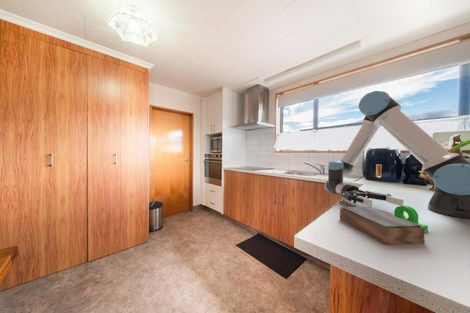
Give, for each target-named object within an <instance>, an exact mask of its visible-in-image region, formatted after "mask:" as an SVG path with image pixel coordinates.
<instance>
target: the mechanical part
mask: <svg viewBox="0 0 470 313" xmlns="http://www.w3.org/2000/svg"><path fill="white" fill-rule="evenodd" d="M404 212H405V213H406V214H407V215H408V217H406V216H405V215H404ZM392 215H393V216H396V217H399V218H402V219H404V220H407V221H410V222H413V223H416V224H418V225H421V227H423V228H425V229H424V233H426V232H428V231H429V226H428V225H425V224H424V223H423V224H422V223H420V222H419V213H418V212H417V210H416V209H415V208H413V207H412V206H409V205H403V206H400V205H397V206H396V207H395V209H394V214H392ZM425 231H426V232H425Z"/></svg>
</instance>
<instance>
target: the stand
mask: <svg viewBox="0 0 470 313" xmlns="http://www.w3.org/2000/svg"><path fill="white" fill-rule="evenodd" d="M393 215H394V214H391V213H387V212H385V211H382V210H379V209H376V208H374V207H370V206H342V207H340V208H339V220H340V221H342V222H344V223H345V224H347V225H349V226H351V227H353V228H354V229H356V230H358V231H360V232H362V233H364V234H365V235H367V236H369V237H371V238H372V239H374V240H376V241H377V242H379V243H381V244H384V245H385V246H388V245H393V246H395V245H415V243H422V244H425V232H424V229H425V228H423V227H421V225H418V224H416V223H413V222H410V221H407V220H404V219H402V218H399V217H396V216H393Z"/></svg>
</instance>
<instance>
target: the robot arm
mask: <svg viewBox="0 0 470 313" xmlns="http://www.w3.org/2000/svg"><path fill="white" fill-rule="evenodd" d="M358 108H359V111H360V113H361V114H363V115H365V116H364V118H363V120H362V121H363V123H362V125H361V127H360V128H359V130H358V132H357V133H356V135H355V137H354V138H353V140H352V141H351V143H350V145H349V147H348V148H347V150H346V152H345V153H344V155H343V157H342V158H341V160H339V161H338V160H336V161H335V160H331V161H329V162H328V165H327V166H328V167H327V169H328V173H327V174H328V175H327V176H328V178H327V179H328V180H326V181H325V183H324V189H325V190H326V191H327V192H329V193H330V194H333V195H337V196H340V197H342V199H346V200H347V201H348V202H352V203H353V204H357V203H359V204H362V205H365V206H366V207H371V208H373V200H378V201H385V203H386V202H387V203H390V204H393V205H397V206H404V199H403V198H400V197H399V198H398V197H395V196H392V195H391V194H390V193H387V194H386V193H381V192H375V191H369V190H362V189H359V187H358V186H357V185H353V184H350V183H346V182H345V183H344V177H345V176H349V175H350V174H352V173H353V172H354V169H353V168H354V167H355V166H356V164H357V162H358V161H359V159H360V157H361V156H362V154H363V153H364V152H365V150H366V149H367V146H369V144H370V142H371V141H372V139H373V137H374V136H375V134H376V133H377V131H378V130H379V128H380V127H383V128H384V129H385V131H386V132H388V133H389V134H390V136H392V137H393V138H394V139H395V140H396V141H397V142H399V144H401V145H402V146H403V147H404V148H405V149H406V150H407V151H408V152H409V153H410V154H411V155H412V156H413V157H415V159H416V160H417V161H419V162H420V164H422V167H421V170H422V171H423V172H424V173H425V174H426V175H427V176H428V177H429V179H431V180H432V181H433V183H434V185H433V187H434V188H433V189H434V190H433V194H432V196H431V198H430V200H429V202H428V204H427V209H428V210H430V211H431V212H434V213H437V214H438V213H439V214H441V215H446V216H451V217H457V218H461V219H462V218H463V219H470V159H466V157H463V156H462V154H460V153H455V152H450V151H448V150H447V149H446V148H445V147H444V146H443V145H441V144H440V142H438V141H437V140H435V139H434V138H433V137H432V136H430V134H428V133H427V132H426V131H425V130H424V129H423V128H421V127H420V126H418V124H416V123H415V122H414V121H413V120H412V119H411V118H409V117H408V116H407V115H406V114H405V113H403V112H402V111H401V109H402V106H401V104H400V103H398V102H397V101H396V100H395V99H393V98H392V97H391V96H390V94H389V93H387V92H386V91H385V90H384V91H383V90H380V89H377V90H371V91H369V92H367V93H366V94H365V95H363V96H362V97H361V99H360V100H359V103H358Z"/></svg>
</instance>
